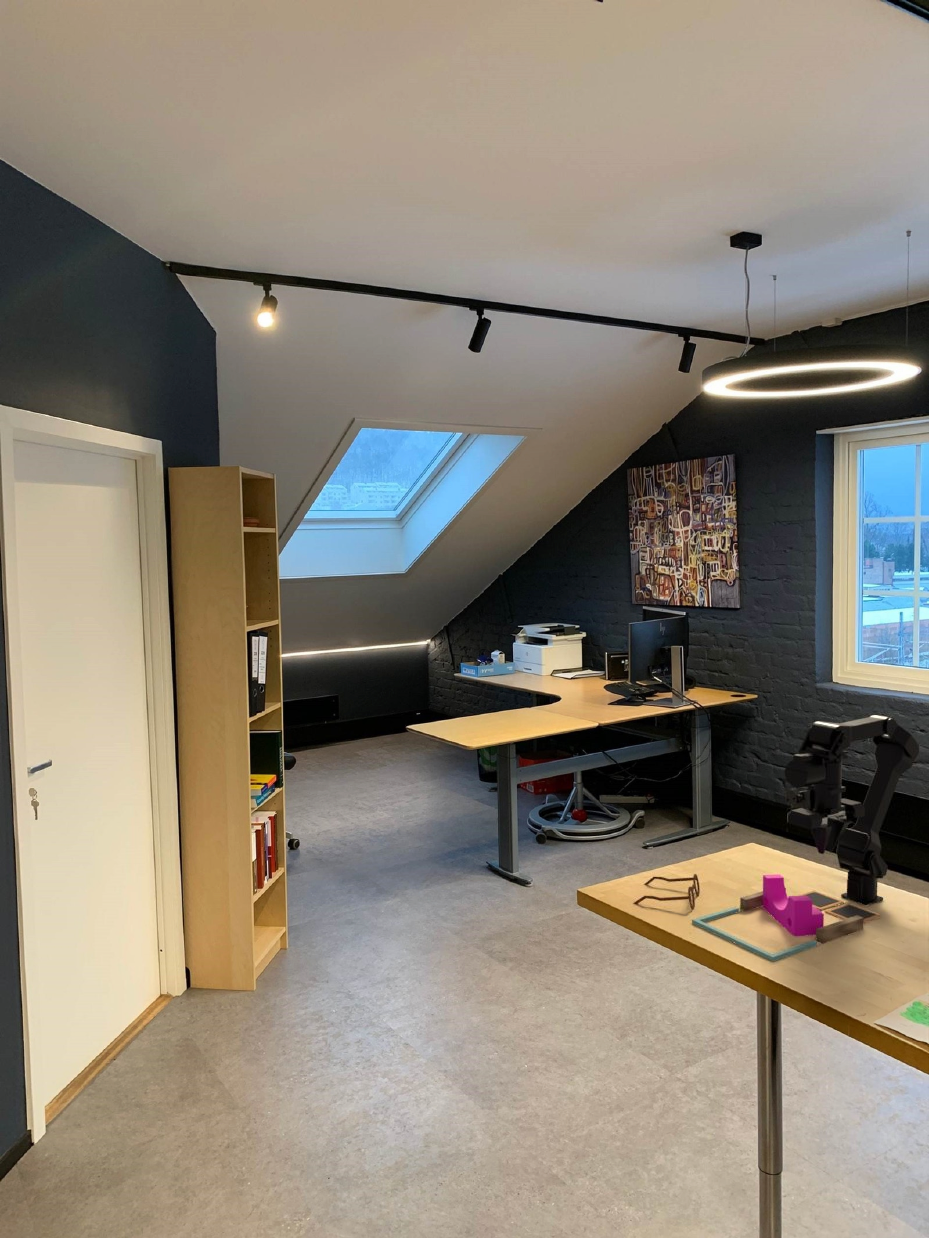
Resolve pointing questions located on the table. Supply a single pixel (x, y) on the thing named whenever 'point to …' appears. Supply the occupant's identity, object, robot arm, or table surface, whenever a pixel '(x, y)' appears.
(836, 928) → the channel
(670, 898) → the glasses
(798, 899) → the toy block
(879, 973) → the table surface
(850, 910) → the pit traps
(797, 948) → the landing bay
